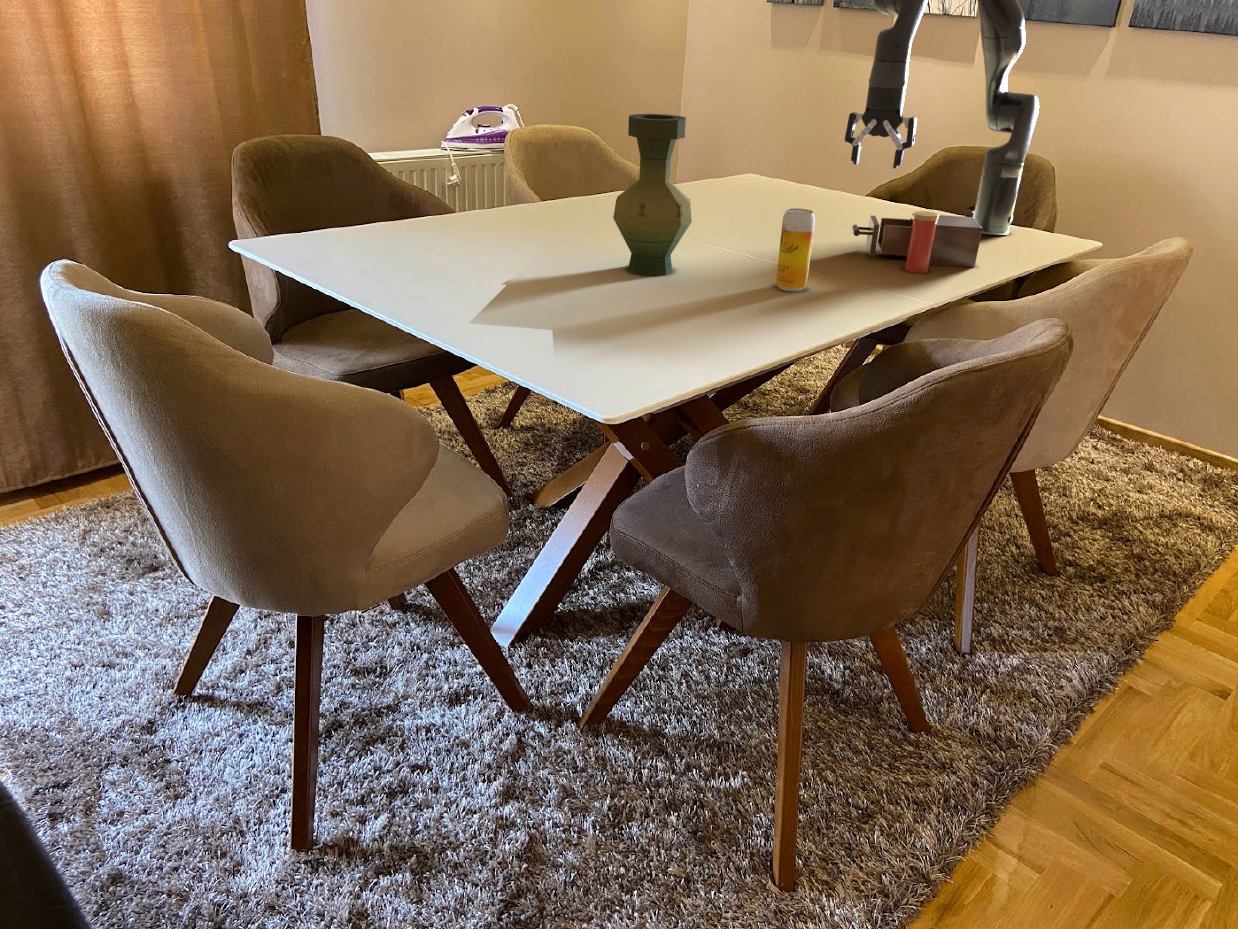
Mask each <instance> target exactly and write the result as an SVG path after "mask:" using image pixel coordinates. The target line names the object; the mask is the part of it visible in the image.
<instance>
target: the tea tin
mask: <svg viewBox="0 0 1238 929" xmlns="http://www.w3.org/2000/svg"><path fill="white" fill-rule="evenodd" d="M913 214H914V216H913V218H914V219H913V224H912V230H911V236H910V242H909V248H908V253H907V256H906V260H905V266H904V270H905V271H907V272H910V273H915V274H925V273H928V272H929V267H930V264H929V262H930V257H931V251H932V246H933V240H934V235H935V229H936V224H937V220H938V216H939V215H940V214H938V213H936V212H931V211H925V210H924V211H921V210H920V211H914V212H913Z"/></svg>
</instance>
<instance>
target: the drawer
mask: <svg viewBox="0 0 1238 929" xmlns="http://www.w3.org/2000/svg"><path fill="white" fill-rule="evenodd" d="M912 224H913V220H911V218H910V219H909V218H894V217H881V218H880V222H879V221H878V218H877V216H876V215H869V221H868V226H859V225H858V224H853V225H852V226H851V230H852V233H853V235H854V237H858V236H860V235H861V236H863V235H864V236H866V239H865V247H866V249H867V253H868V255H869V256H871V257H872V256H873V257H874V256H876V250H877V248H878V250H879V254H880V255H891V256H903V257H907V253H908V248H909V242H910V236H911V230H912Z"/></svg>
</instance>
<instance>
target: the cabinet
mask: <svg viewBox="0 0 1238 929" xmlns="http://www.w3.org/2000/svg"><path fill="white" fill-rule="evenodd" d="M938 215H939V216H938V220H937V224H936V229H935V235H934V240H933V246H932V251H931V257H930V262H929V265H935V266H936V265H938V266H950V267H966V268H975V267H976V262H977V258H978V252H979V248H980V242H981V238H982V235H983V234H982V229H983V228H982V227H981V226H980V225H979V224H978V222H977V221H976V220H975V219H974V218H973V217H972V216H958V215H957V216H955V215H943V214H938ZM913 216H914V213H911V214H910V219H911V220H913V219H914V218H913Z"/></svg>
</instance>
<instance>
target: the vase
mask: <svg viewBox="0 0 1238 929" xmlns="http://www.w3.org/2000/svg"><path fill="white" fill-rule="evenodd" d="M686 121H687V117H686V116H682V115H676V114H666V113H665V114H663V113H635V114H629V115H628V129H627V130H628V131H627V136H629V137H632V138H635V139H636V141H637V147H638V148H637V149H638V153H639V176H638V177H639V178H638V180H636V181H635V182H634V183H633V184H632V185H630V186H629V187H628V188H626V189H625V190H624V191H622V192H621V193H620V194H619V195H617V197H616V200H615V204H614V211H613V215H612V219H613V221H614V222H615V225H616V226H617V228H618V231H619V232H620V234H621V236H622V238H623V241H624V242H625V244H626V246H627V248H628V250H629V252H630V258H629V263H628V268H627V271H628V272H630V273H632V274H634V275H635V274H636V275H641V276H651V277H659V276H666V275H670V274H672V273H673V264H672V254H673V252H674V251H675V249H676V248H677V245H678V244H679V242H680V241H681V240H682V237H683V236H684V235H685V233H686V232H687V230H688V229H689V227H690V225H691V224H692V223H693V222H692V217H693V216H692V207H691V206H692V204H691V203H692V202H691V199H690V198H689V197H688V196H687V195H686V194H685V193H684V192H683V191H682V190H680V189H679V187H677V186H676V185H675V184H674V183H673V182H672V181H671V163H672V162H671V161H672V154H673V153H674V149H675V145H676V143H677V142H676V141H677V140H679V139H685V138H686V124H687V122H686Z"/></svg>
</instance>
